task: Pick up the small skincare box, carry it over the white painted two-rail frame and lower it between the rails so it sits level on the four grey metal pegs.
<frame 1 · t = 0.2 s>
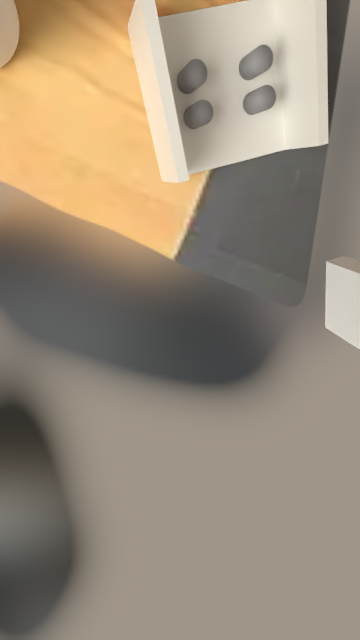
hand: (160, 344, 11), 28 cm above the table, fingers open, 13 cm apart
peg frame: (217, 94, 33), on the table
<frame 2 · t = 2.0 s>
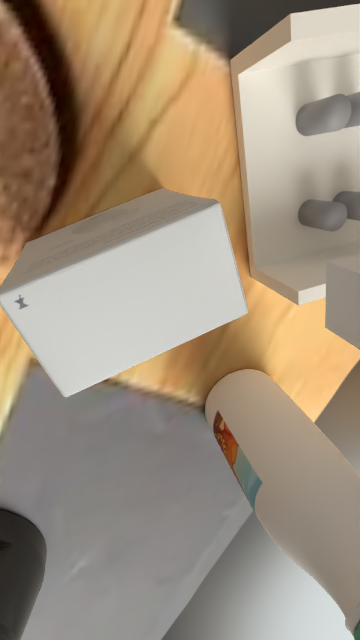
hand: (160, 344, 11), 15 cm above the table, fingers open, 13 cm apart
milk bottle: (238, 398, 33), on the table
peg frame: (317, 165, 26), on the table
skincare box: (115, 255, 25), on the table
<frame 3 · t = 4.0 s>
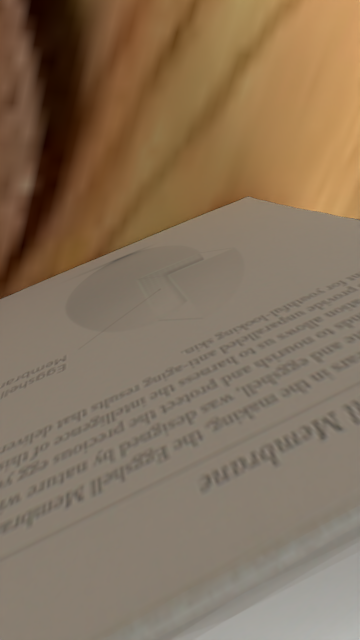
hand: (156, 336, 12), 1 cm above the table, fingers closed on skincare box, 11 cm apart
skincare box: (150, 322, 13), on the table, touching gripper
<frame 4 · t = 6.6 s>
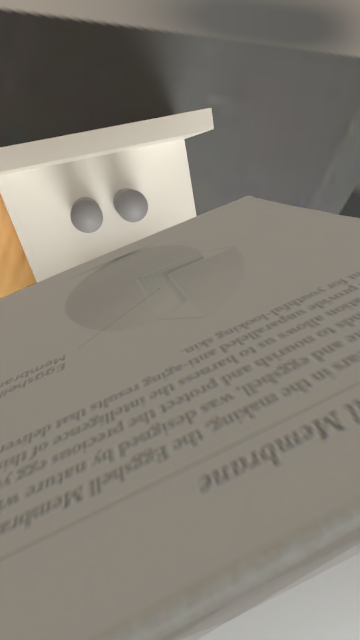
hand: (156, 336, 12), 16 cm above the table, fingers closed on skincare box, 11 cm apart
peg frame: (117, 247, 26), on the table
skincare box: (150, 321, 13), point 15 cm above the table, touching gripper
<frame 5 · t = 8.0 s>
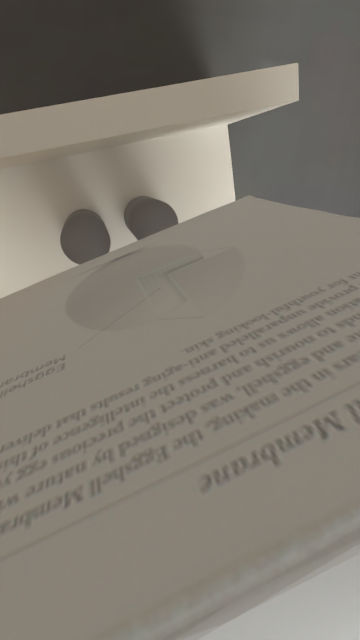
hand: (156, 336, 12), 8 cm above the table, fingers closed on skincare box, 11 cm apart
peg frame: (128, 277, 19), on the table
skincare box: (150, 321, 13), point 6 cm above the table, touching gripper
when the fingers open (6 cm above the table, at t = 9.3 s): skincare box drops 1 cm, resting on peg frame.
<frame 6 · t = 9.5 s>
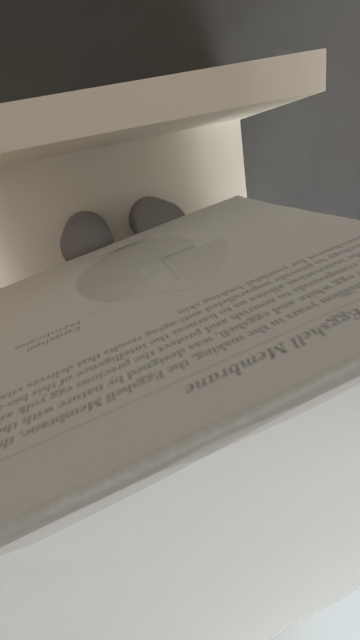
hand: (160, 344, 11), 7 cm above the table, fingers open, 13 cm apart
peg frame: (133, 283, 18), on the table
skincare box: (148, 308, 14), point 4 cm above the table, touching peg frame
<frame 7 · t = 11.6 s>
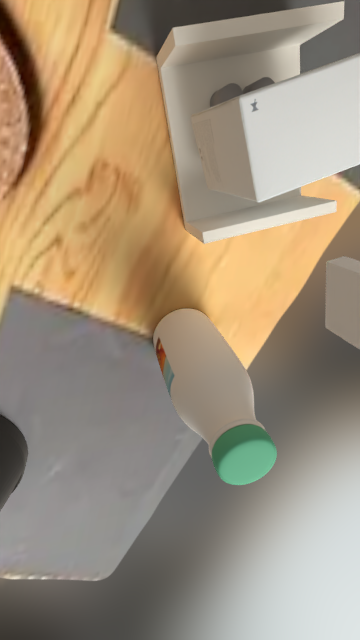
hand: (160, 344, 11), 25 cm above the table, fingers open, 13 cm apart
milk bottle: (182, 334, 41), on the table
peg frame: (235, 140, 33), on the table
skincare box: (252, 137, 29), point 4 cm above the table, touching peg frame
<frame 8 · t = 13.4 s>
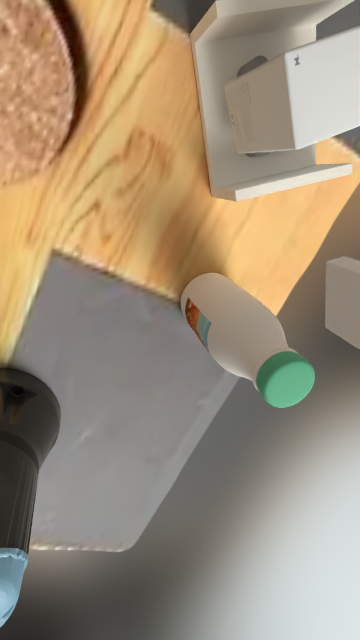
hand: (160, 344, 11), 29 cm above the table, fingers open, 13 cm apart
milk bottle: (206, 299, 44), on the table
peg frame: (257, 112, 36), on the table
skincare box: (276, 106, 33), point 4 cm above the table, touching peg frame
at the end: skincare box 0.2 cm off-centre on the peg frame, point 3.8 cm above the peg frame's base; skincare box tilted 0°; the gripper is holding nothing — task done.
